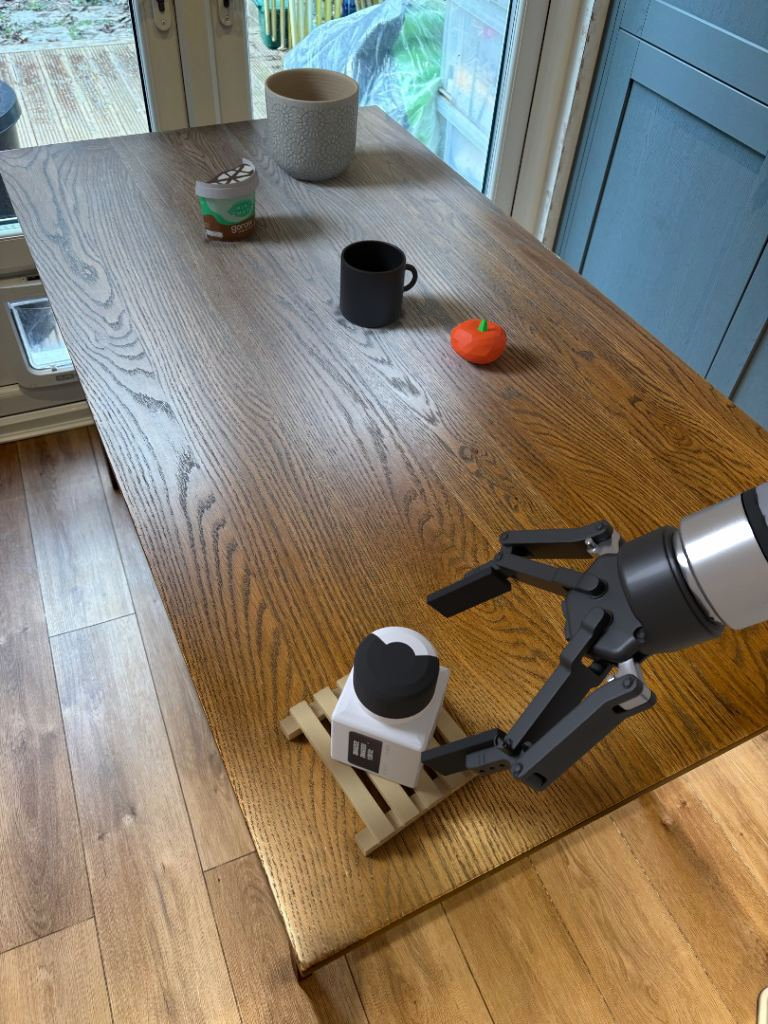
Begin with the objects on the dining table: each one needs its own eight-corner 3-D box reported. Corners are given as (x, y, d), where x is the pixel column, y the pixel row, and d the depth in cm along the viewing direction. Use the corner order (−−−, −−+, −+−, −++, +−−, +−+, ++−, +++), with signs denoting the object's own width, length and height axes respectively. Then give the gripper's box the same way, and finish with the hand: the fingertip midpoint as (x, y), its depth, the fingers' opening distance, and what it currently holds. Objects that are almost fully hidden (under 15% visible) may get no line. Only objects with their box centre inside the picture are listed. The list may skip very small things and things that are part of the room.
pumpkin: (451, 338, 110) (457, 299, 106) (505, 347, 110) (513, 309, 105) (444, 366, 106) (449, 327, 101) (500, 376, 105) (508, 337, 100)
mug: (426, 320, 113) (433, 265, 106) (351, 333, 110) (353, 277, 103) (403, 287, 119) (408, 234, 112) (331, 298, 116) (332, 244, 109)
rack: (495, 765, 67) (499, 755, 65) (366, 859, 61) (367, 850, 59) (402, 651, 74) (403, 640, 73) (278, 725, 68) (277, 715, 67)
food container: (229, 253, 123) (223, 193, 116) (201, 241, 125) (193, 181, 118) (276, 225, 130) (274, 167, 123) (249, 214, 132) (245, 156, 125)
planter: (264, 187, 140) (259, 98, 128) (273, 149, 151) (269, 64, 139) (355, 192, 140) (358, 104, 129) (357, 154, 152) (360, 70, 140)
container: (415, 791, 63) (431, 718, 53) (329, 759, 64) (330, 683, 54) (441, 711, 68) (460, 632, 58) (361, 683, 69) (367, 602, 59)
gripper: (784, 795, 40) (466, 864, 51) (687, 471, 57) (464, 575, 68) (724, 741, 36) (393, 828, 47) (638, 411, 53) (410, 532, 64)
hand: (434, 679), depth 58 cm, fingers open, 13 cm apart
